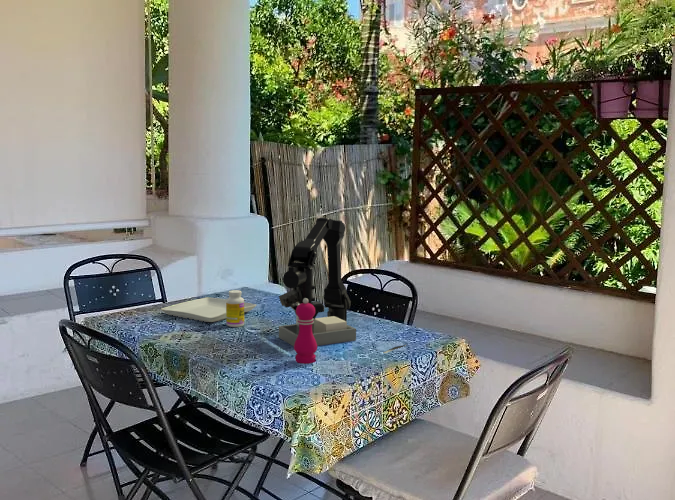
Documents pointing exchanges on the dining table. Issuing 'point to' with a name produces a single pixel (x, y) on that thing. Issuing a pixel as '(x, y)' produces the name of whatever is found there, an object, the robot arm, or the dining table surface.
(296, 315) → the tin
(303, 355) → the pepper mill
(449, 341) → the dining table surface
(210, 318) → the square plate
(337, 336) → the tote
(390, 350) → the butter knife
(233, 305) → the supplement bottle
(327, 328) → the cream hollow cover
